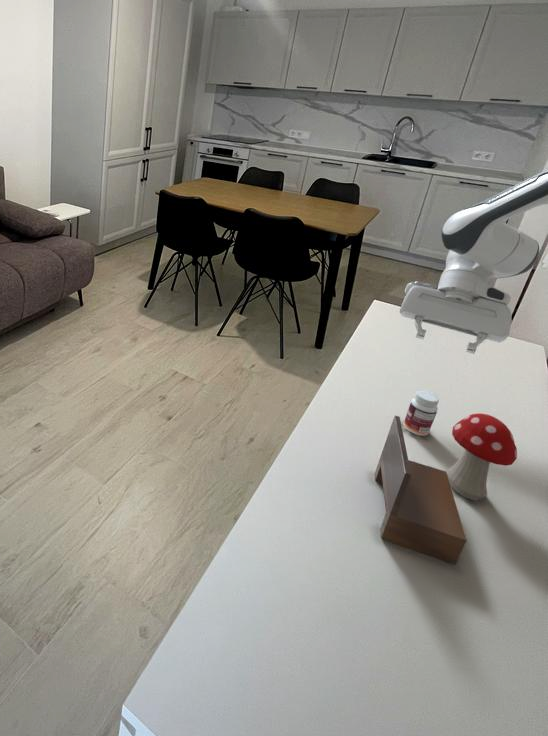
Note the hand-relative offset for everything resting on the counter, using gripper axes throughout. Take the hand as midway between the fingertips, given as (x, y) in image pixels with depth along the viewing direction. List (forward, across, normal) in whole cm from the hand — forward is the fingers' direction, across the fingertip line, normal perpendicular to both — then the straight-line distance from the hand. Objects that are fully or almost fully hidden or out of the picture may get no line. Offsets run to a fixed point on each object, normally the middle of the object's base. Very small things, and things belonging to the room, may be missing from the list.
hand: (444, 344), depth 109 cm
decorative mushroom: (+30, +8, -7) cm, 32 cm away
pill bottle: (+20, 0, +3) cm, 20 cm away
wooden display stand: (+40, +1, -17) cm, 43 cm away
